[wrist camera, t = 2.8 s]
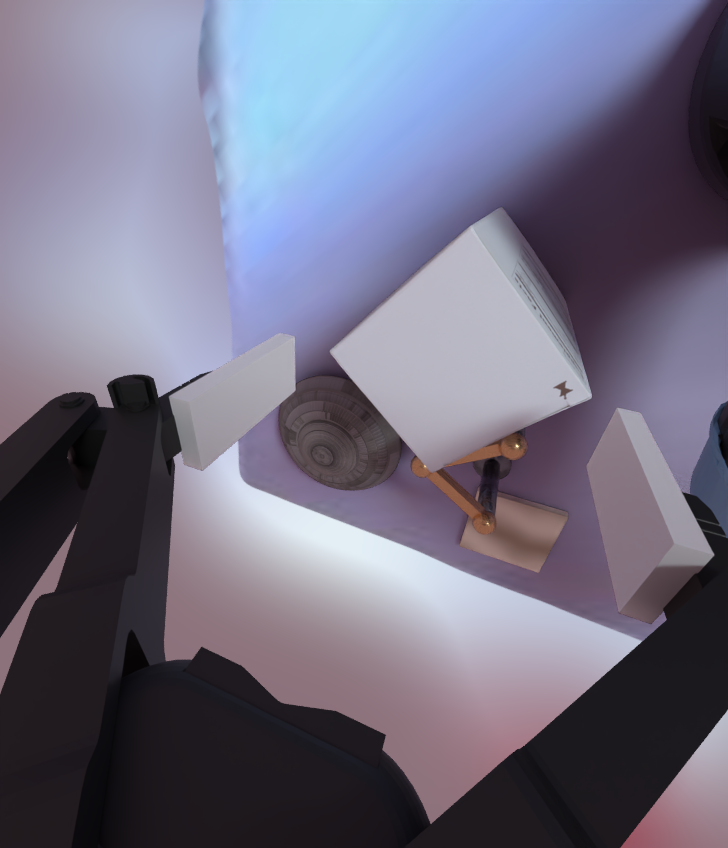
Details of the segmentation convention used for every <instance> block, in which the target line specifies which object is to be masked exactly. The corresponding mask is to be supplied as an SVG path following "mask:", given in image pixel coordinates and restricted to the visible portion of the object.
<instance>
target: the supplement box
mask: <svg viewBox="0 0 728 848" xmlns="http://www.w3.org/2000/svg"><path fill="white" fill-rule="evenodd" d="M330 354H331V355H332V356H333V357H334V359H335V360H336V361H337V362H338V364H339V365H340V366H341V367H342V368H343V370H344V371H345V372H346V373H347V375H348V376H349V377H350V378H351V379H352V380H353V382H354V383H355V384H356V385H357V386H358V387H359V389H360V390H361V391H362V392H363V393H364V394H365V395H366V397H367V398H368V399H369V400H370V401H371V403H372V404H373V405H374V406H375V407H376V408H377V410H378V411H379V412H380V413H381V414H382V416H383V417H384V418H385V419H386V420H387V421H388V423H389V424H390V425H391V426H392V427H393V429H394V430H395V431H396V432H397V433H398V435H399V436H400V437H401V438H402V439H403V441H404V442H405V443H406V444H407V445H408V446H409V448H410V449H411V450H412V451H413V452H414V453H415V455H416V456H417V457H418V458H419V459H420V460H421V462H422V463H423V464H424V465H425V466H426V467H427V469H428V470H429V471H430V472H431V473H434V472H436V471H438V470H440V469H441V468H443V467H445V466H447V465H449V464H451V463H453V462H455V461H457V460H459V459H461V458H463V457H465V456H467V455H469V454H471V453H473V452H475V451H477V450H479V449H481V448H483V447H485V446H487V445H489V444H491V443H493V442H495V441H497V440H499V439H501V438H503V437H506V436H508V435H510V434H512V433H514V432H516V431H518V430H520V429H523V428H525V427H527V426H529V425H532V424H534V423H536V422H538V421H541V420H543V419H545V418H547V417H549V416H552V415H554V414H556V413H558V412H561V411H563V410H565V409H568V408H570V407H572V406H575V405H577V404H580V403H582V402H585V401H587V400H589V399H591V398H592V394H591V390H590V386H589V383H588V380H587V376H586V373H585V369H584V366H583V362H582V358H581V354H580V351H579V347H578V344H577V340H576V336H575V332H574V329H573V326H572V322H571V319H570V315H569V311H568V308H567V304H566V301H565V299H564V297H563V295H562V294H561V292H560V290H559V289H558V287H557V286H556V284H555V282H554V281H553V279H552V278H551V276H550V275H549V273H548V272H547V270H546V269H545V267H544V266H543V264H542V263H541V261H540V260H539V258H538V257H537V255H536V254H535V252H534V251H533V249H532V248H531V246H530V245H529V243H528V242H527V240H526V239H525V238H524V236H523V235H522V233H521V232H520V230H519V229H518V228H517V226H516V225H515V223H514V222H513V221H512V219H511V218H510V217H509V215H508V214H507V213H506V211H505V210H504V209H503V208H502V207H500V208H498V209H496V210H495V211H493V212H492V213H490V214H489V215H487V216H486V217H484V218H482V219H481V220H479V221H477V222H476V223H474V224H472V225H471V226H469V227H468V228H467V229H466V230H465V231H463V232H462V233H461V234H460V235H459V236H457V237H456V238H455V239H454V240H452V241H451V242H450V243H449V244H448V245H447V246H445V247H444V248H443V249H442V250H441V251H439V252H438V253H437V254H436V255H435V256H433V257H432V258H431V259H430V260H429V261H428V262H426V263H425V264H424V265H423V266H422V267H421V268H420V269H419V270H417V271H416V272H415V273H414V274H413V275H412V276H411V277H410V278H408V279H407V280H406V281H405V282H404V283H403V284H402V285H401V286H399V287H398V288H397V289H396V290H395V291H394V292H393V293H392V294H391V295H389V296H388V297H387V298H386V299H385V300H384V301H383V302H382V303H381V304H380V305H378V306H377V307H376V308H375V309H374V310H373V311H372V312H371V313H370V314H369V315H368V316H367V317H365V318H364V319H363V320H362V321H361V322H360V323H359V324H358V325H357V326H356V327H355V328H354V329H353V330H351V331H350V332H349V333H348V334H347V335H346V336H345V337H344V338H343V339H342V340H341V341H340V342H339V343H337V344H336V345H335V346H334V347H333V348H332V349H331V350H330Z"/></svg>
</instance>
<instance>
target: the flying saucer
mask: <svg viewBox="0 0 728 848" xmlns="http://www.w3.org/2000/svg"><path fill="white" fill-rule="evenodd" d="M295 387H296V391H294V392H293V393H292V394H291V395H290V396H289V397H288V398H286V399H285V400H284V401H283V402H282V403H281V406H280V412H279V428H280V434H281V437H282V441H283V443H284V446H285V448H286V450H287V452H288V454H289V455H290V457H291V458H292V460H293V461H294V462H295V463H296V464H297V466H298V467H299V468H300V469H301V470H302V471H303V472H305V473H306V474H307V475H308V476H310V477H311V478H313V479H314V480H316V481H318V482H320V483H322V484H324V485H326V486H329V487H332V488H336V489H341V490H363V489H368V488H371V487H374V486H377V485H379V484H381V483H382V482H384V481H385V480H387V479H388V478H389V477H390V476H391V475H392V473H393V472H394V471H395V469H396V467H397V465H398V463H399V460H400V456H401V438H400V436H399V435H398V433H397V432H396V431H395V430H394V429H393V427H392V426H391V425H390V424H389V423H388V421H387V420H386V419H385V418H384V417H383V416H382V414H381V413H380V412H379V411H378V410H377V408H376V407H375V406H374V405H373V404H372V403H371V401H370V400H369V399H368V398H367V397H366V395H365V394H364V393H363V392H362V391H361V390H360V389H359V387H358V386H357V385H356V384H355V383H354V382H353V381H350V380H347V379H344V378H341V377H336V376H325V375H323V376H314V377H310V378H306V379H304V380H302V381H300V382H298V383H297V384H295Z"/></svg>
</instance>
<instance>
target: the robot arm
mask: <svg viewBox="0 0 728 848" xmlns="http://www.w3.org/2000/svg"><path fill="white" fill-rule="evenodd" d="M689 136H690V143H691V148H692V152H693V155H694V158H695V161H696V164H697V166H698V168H699V170H700V172H701V174H702V175H703V177H704V178H705V180H706V181H707V182H708V184H709V185H710V186H711V187H712V188H713V189H714V190H715V191H716V192H717V193H718V194H719V195H720V196H722V197H723V198H724V199H726V200H727V201H728V4H727V5H726V7H725V9H724V11H723V12H722V14H721V16H720V18H719V20H718V22H717V23H716V25H715V27H714V29H713V31H712V33H711V36H710V38H709V40H708V42H707V44H706V47H705V49H704V52H703V55H702V57H701V60H700V63H699V66H698V69H697V72H696V76H695V80H694V84H693V88H692V93H691V99H690V107H689ZM107 387H108V391H109V394H110V397H111V400H112V403H113V406H114V408H107V407H99V406H98V404H97V401H96V398H95V396H94V395H92V394H90V393H84V392H79V393H78V392H77V393H76V392H72V393H69V394H68V393H66V394H63V395H62V396H59V397H56V398H54V399H53V400H51V401H50V402H48V403H47V404H46V405H45V406H44V407H43V408H41V409H40V410H39V411H38V412H37V413H36V414H35V415H33V416H32V417H31V418H30V419H29V420H28V421H27V422H25V423H24V424H23V425H22V426H21V427H20V428H19V429H17V430H16V431H15V432H14V433H13V434H12V435H11V436H9V437H8V438H7V439H6V440H5V441H4V442H3V443H2V444H0V637H1V636H2V634H3V633H4V631H5V630H6V628H7V627H8V625H9V624H10V622H11V621H12V619H13V618H14V616H15V615H16V613H17V612H18V610H19V609H20V608H21V606H22V605H23V603H24V601H25V600H26V599H27V597H28V595H29V594H30V593H31V591H32V589H33V588H34V586H35V585H36V583H37V582H38V581H39V579H40V578H41V576H42V575H43V573H44V572H45V570H46V569H47V567H48V566H49V564H50V563H51V561H52V560H53V558H54V557H55V555H56V554H57V552H58V551H59V549H60V548H61V546H62V545H63V543H64V542H65V540H66V539H67V537H68V536H69V534H70V533H71V531H72V530H73V528H74V527H75V525H76V524H77V526H76V529H75V532H74V535H73V539H72V541H71V545H70V548H69V551H68V554H67V557H66V560H65V563H64V566H63V570H62V573H61V576H60V579H59V582H58V585H57V588H56V590H55V592H53V593H49V594H44V595H41V596H40V597H39V598H38V599H37V600H36V601H35V603H34V605H33V607H32V609H31V611H30V614H29V617H28V619H27V622H26V625H25V628H24V630H23V633H22V636H21V639H20V641H19V644H18V647H17V650H16V652H15V655H14V658H13V661H12V663H11V666H10V669H9V672H8V674H7V677H6V680H5V683H4V685H3V688H2V691H1V694H0V848H620V847H621V846H622V845H623V843H624V842H625V841H626V839H627V838H628V837H629V836H630V834H631V833H632V832H633V831H634V829H635V828H636V827H637V825H638V824H639V823H640V822H641V820H642V819H643V818H644V817H645V815H646V814H647V813H648V811H649V810H650V809H651V808H652V806H653V805H654V804H655V802H656V801H657V800H658V798H659V797H660V796H661V795H662V793H663V792H664V791H665V790H666V788H667V787H668V786H669V784H670V783H671V782H672V781H673V779H674V778H675V777H676V775H677V774H678V773H679V772H680V770H681V769H682V768H683V767H684V765H685V764H686V763H687V761H688V760H689V759H690V758H691V756H692V755H693V754H694V752H695V751H696V750H697V749H698V747H699V746H700V745H701V743H702V742H703V741H704V739H705V738H706V737H707V736H708V734H709V733H710V732H711V731H712V729H713V728H714V727H715V725H716V724H717V723H718V721H719V720H720V719H721V718H722V716H723V715H724V714H725V713H726V711H727V710H728V401H727V402H726V403H723V404H721V405H720V407H719V408H718V409H717V411H716V412H715V414H714V416H713V419H712V422H711V424H710V432H709V438H708V441H707V443H706V445H705V447H704V449H703V451H702V454H701V456H700V458H699V460H698V462H697V464H696V467H695V469H694V471H693V474H692V478H691V484H690V494H687V493H683V492H681V490H680V488H679V486H678V484H677V482H676V480H675V478H674V476H673V474H672V473H671V471H670V469H669V467H668V465H667V463H666V461H665V459H664V457H663V455H662V453H661V451H660V449H659V448H658V446H657V444H656V442H655V440H654V438H653V436H652V434H651V432H650V430H649V428H648V426H647V424H646V422H645V421H644V419H643V417H642V415H641V413H639V412H635V411H630V410H626V409H621V408H616V410H615V412H614V414H613V416H612V418H611V420H610V422H609V424H608V426H607V428H606V430H605V431H604V433H603V435H602V437H601V439H600V441H599V443H598V445H597V447H596V449H595V451H594V452H593V454H592V456H591V458H590V460H589V462H588V464H587V466H586V467H587V472H588V476H589V481H590V485H591V490H592V494H593V499H594V504H595V508H596V513H597V517H598V522H599V526H600V531H601V535H602V540H603V544H604V549H605V553H606V558H607V563H608V567H609V572H610V576H611V581H612V585H613V590H614V594H615V599H616V603H617V608H618V612H619V613H620V614H623V615H626V616H629V617H632V618H635V619H637V620H640V621H643V622H646V623H649V624H652V623H653V622H654V621H655V620H656V619H657V618H658V616H659V615H660V614H661V613H662V612H663V611H664V613H665V616H666V619H667V620H666V621H665V622H664V623H663V624H662V625H661V626H659V627H658V628H657V629H656V630H655V631H654V632H653V633H652V634H650V635H649V636H648V637H647V638H646V639H645V640H644V641H642V642H641V643H640V644H639V645H638V646H637V647H636V648H635V649H634V650H632V651H631V652H630V653H629V654H628V655H627V656H625V657H624V658H623V659H622V660H621V661H620V662H619V663H618V664H617V665H615V666H614V667H613V668H612V669H611V670H610V671H609V672H607V673H606V674H605V675H604V676H603V677H602V678H601V679H600V680H598V681H597V682H596V683H595V684H594V685H593V686H592V687H590V688H589V689H588V690H587V691H586V692H585V693H584V694H583V695H581V696H580V697H579V698H578V699H577V700H576V701H575V702H574V703H572V704H571V705H570V706H569V707H568V708H567V709H565V710H564V711H563V712H562V713H561V714H560V715H559V716H558V717H556V718H555V719H554V720H553V721H552V722H551V723H550V724H549V725H547V726H546V727H545V728H544V729H543V730H542V731H541V732H540V733H538V734H537V735H536V736H535V737H534V738H533V739H532V740H530V741H529V742H528V743H527V744H526V745H525V746H523V747H522V748H520V749H517V750H516V751H515V752H513V753H512V754H511V755H509V756H508V757H507V758H506V759H505V760H504V761H502V762H501V763H500V764H499V765H498V766H497V767H495V768H494V769H493V770H492V771H491V772H490V773H489V774H488V775H486V777H484V778H483V779H482V780H481V781H480V782H478V783H477V784H476V785H475V786H474V787H473V788H472V789H470V790H469V791H468V792H467V793H466V794H465V795H464V796H462V797H461V798H460V799H459V800H458V801H457V802H456V803H454V805H452V806H451V807H450V808H449V809H448V810H446V811H445V812H444V813H443V814H442V815H441V816H440V817H438V818H437V819H436V820H435V821H434V822H433V823H432V824H430V821H429V819H428V816H427V814H426V811H425V809H424V807H423V804H422V802H421V800H420V799H419V796H418V795H417V793H416V791H415V789H414V787H413V785H412V784H411V783H410V781H409V780H408V778H407V777H406V775H405V774H404V772H403V771H402V770H401V769H400V767H399V766H398V765H397V764H396V763H395V761H394V760H393V759H392V758H391V757H390V756H389V755H387V754H386V753H385V752H384V751H383V750H382V748H383V744H384V740H385V736H386V735H385V734H383V733H381V732H379V731H377V730H374V729H372V728H370V727H368V726H366V725H364V724H362V723H360V722H358V721H356V720H354V719H351V718H349V717H347V716H345V715H343V714H341V713H339V712H337V711H332V710H324V709H317V708H310V707H303V706H296V705H289V704H283V703H281V702H279V701H278V700H276V699H275V698H274V697H273V696H272V695H271V694H270V693H269V692H268V691H267V690H266V689H265V688H264V687H263V686H262V685H261V684H260V683H259V682H258V681H257V680H256V679H255V678H254V677H253V676H252V675H251V674H250V673H249V672H248V671H246V670H245V668H243V667H242V666H241V665H238V664H236V663H234V662H232V661H230V660H228V659H226V658H224V657H222V656H220V655H218V654H215V653H213V652H211V651H209V650H207V649H205V648H203V647H201V648H200V650H199V651H198V653H197V654H196V656H195V657H194V658H193V659H192V660H173V661H166V660H165V653H164V630H165V615H166V597H167V582H168V567H169V551H170V536H171V520H172V505H173V489H174V473H175V472H174V471H175V464H174V459H173V457H174V456H176V454H178V453H179V452H182V457H183V461H184V465H187V466H189V467H192V468H195V469H198V470H201V471H203V470H204V469H205V468H206V467H207V466H209V465H210V464H211V463H212V462H213V461H215V460H216V459H217V458H218V457H219V456H220V455H221V454H222V453H224V452H225V451H226V450H227V449H228V448H230V447H231V446H232V445H233V444H234V443H235V442H237V441H238V440H239V439H240V438H241V437H242V436H244V435H245V434H246V433H247V432H248V431H249V430H250V429H252V428H253V427H254V426H255V425H256V424H257V423H259V422H260V421H261V420H262V419H263V418H264V417H266V416H267V415H268V414H269V413H270V412H271V411H272V410H274V409H275V408H276V407H277V406H278V405H279V404H281V403H282V402H283V401H284V400H285V399H286V398H288V397H289V396H290V395H291V394H292V393H293V392H294V391H296V387H295V336H291V335H287V334H282V333H279V334H277V335H275V336H273V337H272V338H270V339H268V340H266V341H265V342H263V343H261V344H259V345H258V346H256V347H254V348H252V349H251V350H249V351H247V352H245V353H244V354H242V355H240V356H238V357H237V358H235V359H233V360H231V361H230V362H228V363H226V364H224V365H223V366H221V367H219V368H217V369H216V370H214V371H211V372H207V373H204V374H200V375H199V376H196V377H195V378H193V379H191V380H190V382H189V381H188V382H186V383H184V384H182V386H179V387H177V388H175V389H173V390H172V391H170V392H168V393H166V394H164V395H163V396H161V397H159V398H158V394H157V390H156V386H155V382H154V379H153V378H152V377H150V376H146V375H127V376H123V377H119V378H117V379H114V380H113V381H111V382H110V383H109V384H108V385H107ZM67 457H68V458H67ZM77 522H78V523H77Z"/></svg>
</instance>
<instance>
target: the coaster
mask: <svg viewBox="0 0 728 848" xmlns="http://www.w3.org/2000/svg"><path fill="white" fill-rule="evenodd" d="M479 490H480V486H479V487H478V490H477V493H476V496H475V499H476V500H477V501H478V496H479ZM495 518H496V520H497V527H496V529H495V531H494V532H493V533H491V534H489V535H482V534H479V533H478V532H476V531H475V529H474V528H473V525H472V518H471V517H470V516H469V517H468V520H467V523H466V526H465V529H464V532H463V535H462V538H461V541H460V547H463V548H466V549H469V550H472V551H475V552H478V553H481V554H484V555H487V556H490V557H493V558H496V559H499V560H502V561H505V562H508V563H511V564H514V565H517V566H520V567H523V568H526V569H529V570H531V571H534V572H537V573H539V571H540V569H541V567H542V565H543V564H544V562H545V560H546V558H547V556H548V554H549V552H550V551H551V549H552V547H553V545H554V543H555V541H556V540H557V538H558V536H559V534H560V532H561V530H562V528H563V527H564V525H565V523H566V521H567V519H568V512H566V511H562V510H559V509H555V508H552V507H549V506H545V505H542V504H538V503H535V502H532V501H528V500H525V499H521V498H518V497H515V496H511V495H508V494H504V493H501V492H498V493H497V503H496V513H495Z"/></svg>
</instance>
